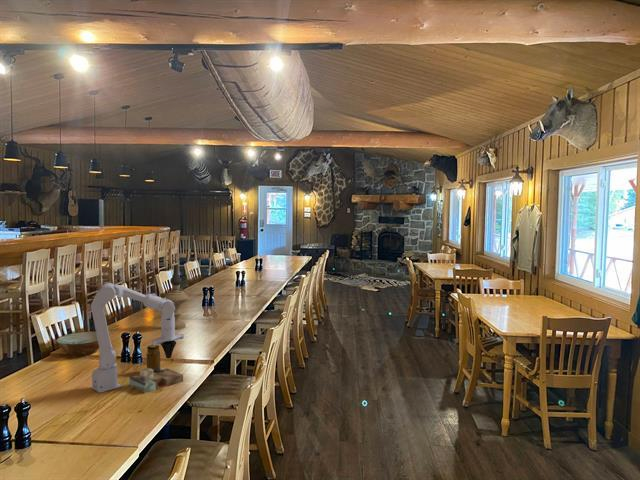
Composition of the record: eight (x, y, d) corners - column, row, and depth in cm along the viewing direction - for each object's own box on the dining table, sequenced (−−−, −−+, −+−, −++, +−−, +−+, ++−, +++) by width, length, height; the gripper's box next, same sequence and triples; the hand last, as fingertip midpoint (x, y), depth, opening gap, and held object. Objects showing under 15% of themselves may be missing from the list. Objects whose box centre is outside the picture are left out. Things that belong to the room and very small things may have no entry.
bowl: (88, 361, 239) (88, 345, 239) (44, 357, 244) (44, 342, 244) (119, 347, 264) (118, 332, 263) (79, 344, 269) (78, 330, 268)
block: (144, 381, 202) (144, 372, 202) (140, 379, 205) (139, 370, 205) (153, 379, 205) (153, 369, 205) (148, 376, 208) (148, 367, 208)
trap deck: (144, 393, 197) (144, 383, 197) (129, 385, 206) (129, 375, 206) (183, 381, 211) (182, 372, 211) (167, 374, 220) (167, 365, 219)
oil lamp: (184, 330, 299) (183, 266, 297) (160, 330, 300) (159, 266, 297) (191, 324, 314) (190, 264, 312) (169, 324, 315) (167, 264, 312)
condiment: (148, 368, 228) (147, 344, 227) (166, 368, 228) (166, 343, 228) (144, 374, 220) (143, 348, 220) (163, 373, 221) (162, 348, 220)
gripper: (157, 332, 203) (158, 363, 204) (187, 326, 214) (187, 355, 215) (149, 329, 208) (149, 360, 209) (178, 323, 219) (179, 352, 220)
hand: (168, 357), depth 212 cm, fingers closed
